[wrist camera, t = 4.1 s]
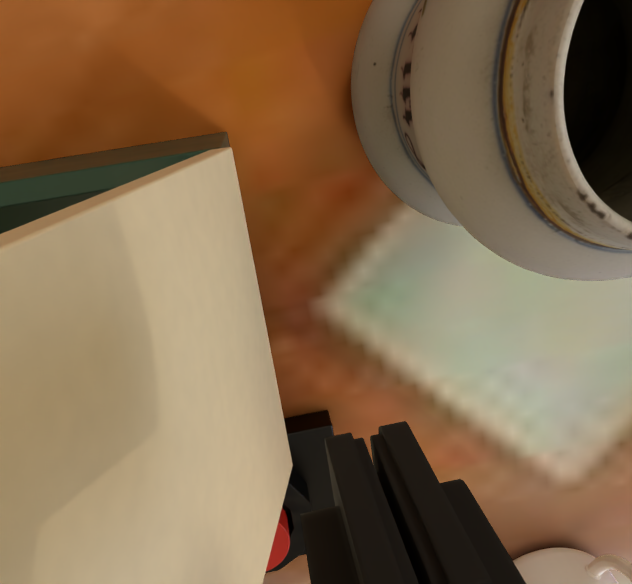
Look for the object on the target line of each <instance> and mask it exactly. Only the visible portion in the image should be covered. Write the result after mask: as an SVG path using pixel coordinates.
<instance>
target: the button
mask: <svg viewBox="0 0 632 584" xmlns="http://www.w3.org/2000/svg"><path fill="white" fill-rule="evenodd" d="M289 547H290V537H289V528H288V519H287V515H286V512H285V510H284V509H283V507H282V509H281V513H280V517H279V521H278V525H277V529H276V533H275V537H274V541H273V545H272V548H271V552H270V556H269V560H268V564H267V568H266V571H269V570H271V569H273V568H274V567H276V566H277V565H278V564H280V563H281V562H282V561H283V559H284V558H285V557H286V555H287V553H288V550H289Z"/></svg>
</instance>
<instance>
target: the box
mask: <svg viewBox="0 0 632 584" xmlns="http://www.w3.org/2000/svg"><path fill="white" fill-rule="evenodd" d="M226 147H230V145H229V140H228V135H227V132H221V133H215V134H208V135H202V136H196V137H189V138H183V139H177V140H170V141H164V142H158V143H151V144H145V145H139V146H132V147H126V148H120V149H113V150H107V151H101V152H95V153H88V154H82V155H76V156H69V157H63V158H57V159H50V160H44V161H38V162H31V163H25V164H19V165H12V166H6V167H0V234H2V233H5V232H7V231H10V230H12V229H15V228H17V227H20V226H22V225H25V224H27V223H29V222H32V221H34V220H37V219H39V218H42V217H44V216H47V215H49V214H52V213H54V212H57V211H59V210H62V209H64V208H67V207H69V206H72V205H74V204H77V203H79V202H82V201H84V200H87V199H89V198H92V197H94V196H97V195H99V194H102V193H104V192H107V191H109V190H112V189H114V188H116V187H119V186H121V185H124V184H126V183H129V182H131V181H134V180H136V179H139V178H141V177H144V176H146V175H149V174H151V173H154V172H156V171H159V170H161V169H164V168H166V167H169V166H171V165H174V164H176V163H179V162H181V161H184V160H186V159H189V158H191V157H194V156H196V155H199V154H201V153H203V152H206V151H208V150H212V149H219V148H226Z"/></svg>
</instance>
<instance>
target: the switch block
mask: <svg viewBox="0 0 632 584" xmlns="http://www.w3.org/2000/svg"><path fill="white" fill-rule="evenodd" d="M284 422H285V427H286V432H287V438H288V443H289V448H290V453H291V458H292V464H293V466H292V470H291V474H290V478H289V482H288V486H287V490H286V494H285V498H284V501H283V505H282V507H283V509H284V510H285V512H286V515H287V519H288V528H289V537H290V547H289V550H288V553H287V555H286V557H285V558H284V559H283V561H282V562H281V563H280V564H278V565H277V566H276V567H274V568H273V569H271V570H269V571H266V572H265V573H268V572H272V571H277V570H280V569H281V568H283V567H284V566H285V565H287V564H288V563H289V562H291V561H292V560H293V559H295V558H296V557H298V556H300V555H304V554H306V549H305V542H304V536H303V530H302V523H301V517H300V514H302V513H307V512H311V511H316V510H321V509H325V508H330V507H334V506H335V501H334V495H333V489H332V483H331V477H330V471H329V465H328V459H327V453H326V447H325V438H327V437H332V436H334V434H333V428H332V423H331V420H330V416H329V413H328V411H327V410H326V411H321V412H316V413H311V414H306V415H301V416H296V417H291V418H286V419H284Z"/></svg>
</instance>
